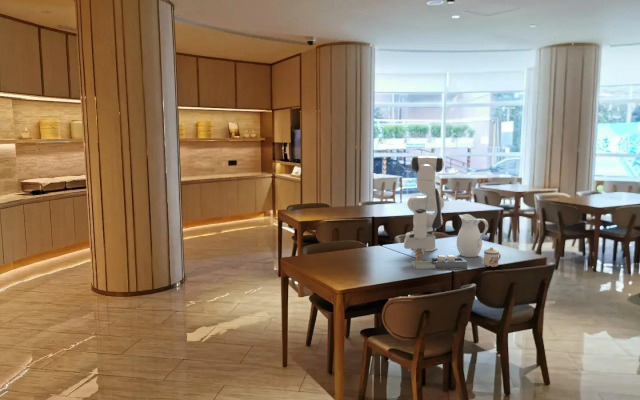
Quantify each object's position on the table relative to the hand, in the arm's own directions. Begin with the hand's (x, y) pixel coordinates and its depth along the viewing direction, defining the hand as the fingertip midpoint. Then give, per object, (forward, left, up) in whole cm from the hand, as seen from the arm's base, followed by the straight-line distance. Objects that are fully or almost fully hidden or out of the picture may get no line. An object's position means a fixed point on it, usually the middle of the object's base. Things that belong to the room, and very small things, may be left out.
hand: (419, 255), depth 329 cm
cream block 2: (+10, +18, -2) cm, 21 cm away
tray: (+10, 0, -5) cm, 11 cm away
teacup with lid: (+7, +46, -5) cm, 47 cm away
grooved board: (+10, +17, -5) cm, 20 cm away
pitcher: (-15, +40, -5) cm, 43 cm away
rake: (0, 0, -5) cm, 5 cm away
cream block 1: (+10, +12, -2) cm, 16 cm away
